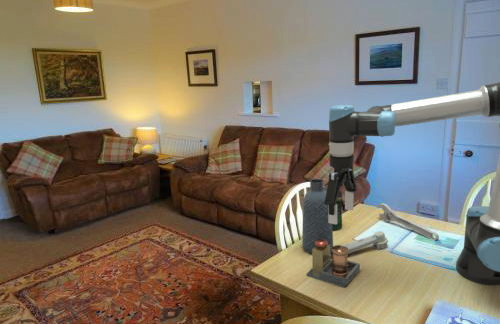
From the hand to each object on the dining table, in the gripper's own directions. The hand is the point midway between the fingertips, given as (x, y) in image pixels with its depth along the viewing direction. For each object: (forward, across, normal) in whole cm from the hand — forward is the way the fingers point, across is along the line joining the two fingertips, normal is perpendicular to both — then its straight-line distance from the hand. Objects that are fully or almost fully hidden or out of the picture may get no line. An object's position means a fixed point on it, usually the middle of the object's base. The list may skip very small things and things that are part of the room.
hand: (341, 216), depth 121 cm
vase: (+22, -14, -16) cm, 30 cm away
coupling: (+21, 0, 0) cm, 21 cm away
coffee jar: (+22, -36, -20) cm, 46 cm away
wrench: (+22, -49, +9) cm, 55 cm away
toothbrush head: (+22, -20, -1) cm, 30 cm away
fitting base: (+22, 0, -3) cm, 22 cm away
